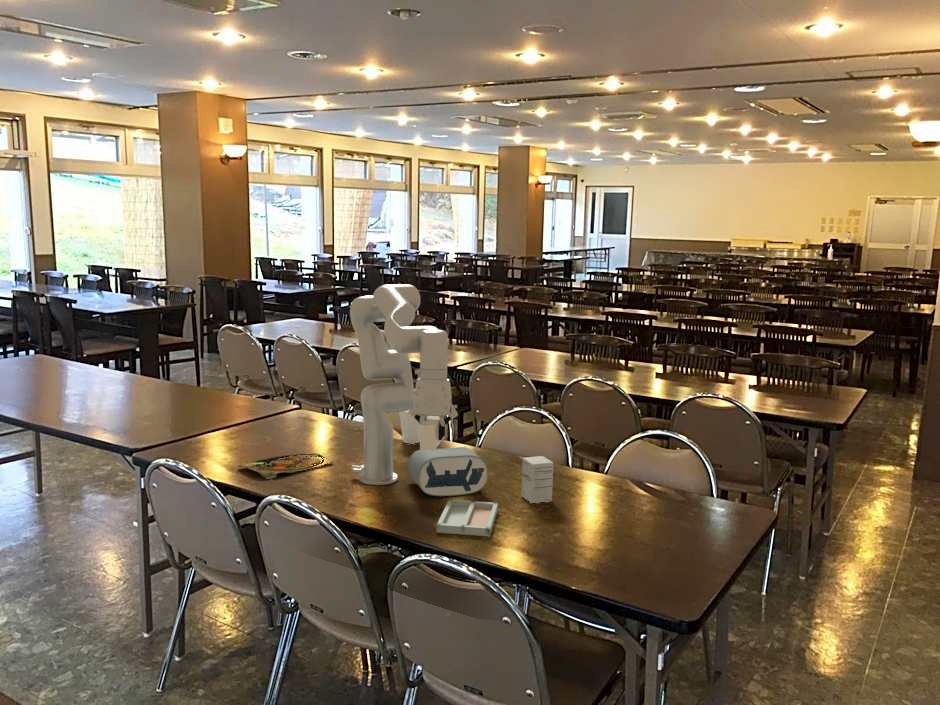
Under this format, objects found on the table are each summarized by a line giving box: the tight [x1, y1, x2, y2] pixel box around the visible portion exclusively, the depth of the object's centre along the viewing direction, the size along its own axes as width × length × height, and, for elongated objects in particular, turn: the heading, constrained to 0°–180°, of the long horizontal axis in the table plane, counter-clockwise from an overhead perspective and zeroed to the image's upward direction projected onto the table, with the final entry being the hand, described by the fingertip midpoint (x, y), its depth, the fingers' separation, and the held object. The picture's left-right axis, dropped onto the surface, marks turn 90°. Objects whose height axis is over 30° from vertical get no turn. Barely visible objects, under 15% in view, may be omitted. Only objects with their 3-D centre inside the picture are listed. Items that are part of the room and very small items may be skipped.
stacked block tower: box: [520, 455, 554, 505], centre depth 244 cm, size 7×7×13 cm
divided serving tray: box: [436, 498, 499, 537], centre depth 225 cm, size 15×20×2 cm
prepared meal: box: [238, 452, 335, 478], centre depth 271 cm, size 28×4×18 cm
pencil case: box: [407, 446, 489, 497], centre depth 253 cm, size 22×19×13 cm
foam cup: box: [398, 410, 421, 445], centre depth 303 cm, size 10×9×13 cm
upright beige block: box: [419, 416, 445, 451], centre depth 223 cm, size 4×14×7 cm, turn 171°
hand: (432, 437), depth 223 cm, fingers closed on upright beige block, 4 cm apart
